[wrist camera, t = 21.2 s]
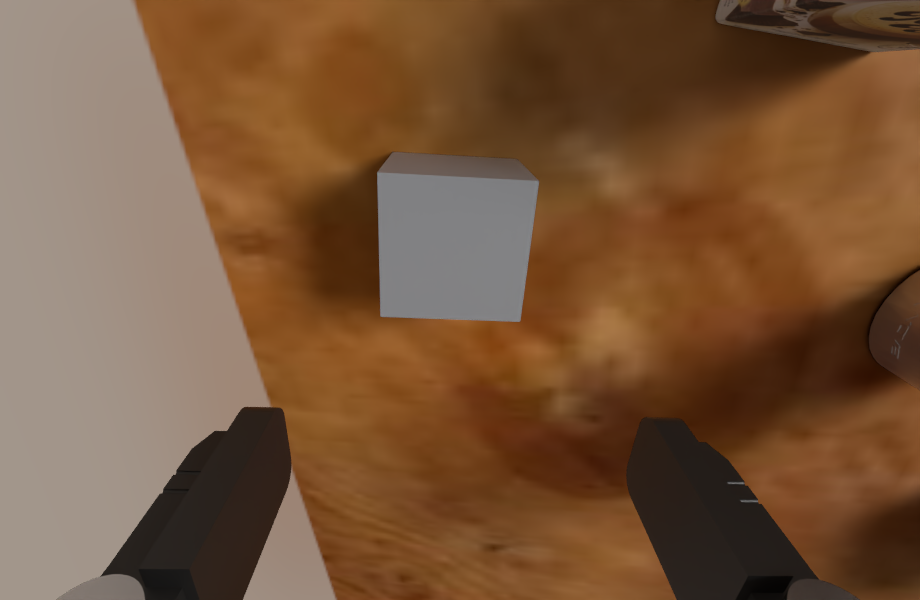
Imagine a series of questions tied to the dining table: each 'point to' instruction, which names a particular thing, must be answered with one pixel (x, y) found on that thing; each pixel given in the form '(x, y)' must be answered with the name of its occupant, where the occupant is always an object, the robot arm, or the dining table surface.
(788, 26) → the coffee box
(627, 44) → the dining table surface
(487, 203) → the grey cuboid
